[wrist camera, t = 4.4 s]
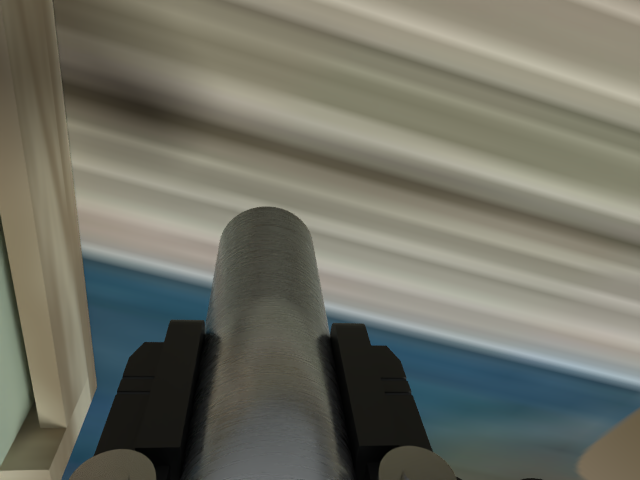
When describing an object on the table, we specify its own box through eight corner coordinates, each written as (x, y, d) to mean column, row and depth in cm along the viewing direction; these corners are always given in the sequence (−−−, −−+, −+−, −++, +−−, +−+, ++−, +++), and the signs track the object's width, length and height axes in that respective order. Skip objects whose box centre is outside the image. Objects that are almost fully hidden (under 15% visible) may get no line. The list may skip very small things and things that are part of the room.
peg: (317, 209, 16) (500, 1010, 4) (309, 290, 17) (421, 1078, 5) (219, 204, 16) (42, 1081, 3) (218, 288, 17) (91, 1140, 4)
